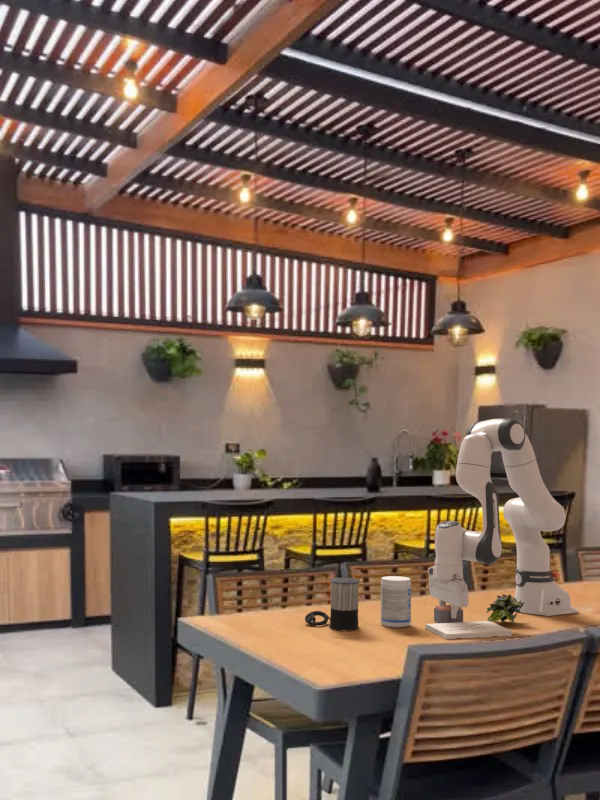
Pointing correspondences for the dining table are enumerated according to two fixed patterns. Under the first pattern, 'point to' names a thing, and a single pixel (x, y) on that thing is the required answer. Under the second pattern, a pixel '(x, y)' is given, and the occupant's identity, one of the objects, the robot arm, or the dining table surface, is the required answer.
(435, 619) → the block
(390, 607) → the supplement tub
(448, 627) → the board
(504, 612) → the green leafy plant
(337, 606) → the milk frother
